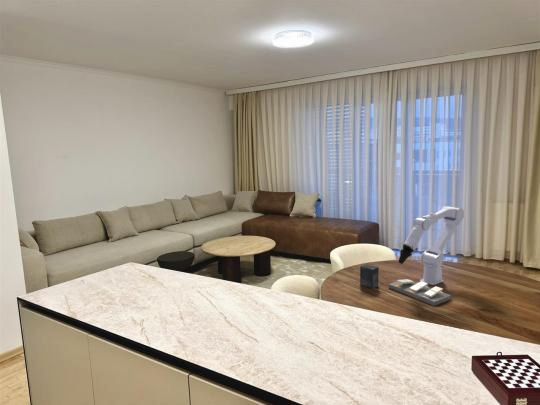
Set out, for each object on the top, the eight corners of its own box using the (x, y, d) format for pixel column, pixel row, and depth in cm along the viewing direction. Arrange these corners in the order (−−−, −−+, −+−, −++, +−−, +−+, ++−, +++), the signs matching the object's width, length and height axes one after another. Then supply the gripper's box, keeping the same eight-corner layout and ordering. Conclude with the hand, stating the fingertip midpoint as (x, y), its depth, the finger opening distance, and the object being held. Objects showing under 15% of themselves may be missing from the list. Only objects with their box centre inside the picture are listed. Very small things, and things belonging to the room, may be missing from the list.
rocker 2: (421, 282, 182) (421, 281, 181) (427, 284, 179) (427, 283, 178) (409, 289, 177) (409, 287, 177) (416, 291, 174) (416, 290, 174)
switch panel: (405, 282, 193) (405, 278, 192) (450, 299, 171) (451, 294, 170) (388, 287, 186) (388, 283, 186) (434, 305, 164) (434, 301, 164)
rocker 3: (435, 287, 175) (435, 286, 175) (442, 290, 172) (442, 288, 172) (424, 294, 171) (424, 293, 170) (431, 297, 168) (431, 295, 167)
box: (378, 286, 188) (379, 266, 187) (372, 289, 185) (372, 269, 183) (365, 282, 194) (366, 263, 193) (359, 284, 191) (359, 265, 189)
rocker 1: (407, 280, 189) (407, 279, 189) (413, 282, 186) (413, 281, 186) (396, 281, 184) (396, 279, 184) (402, 283, 181) (402, 281, 181)
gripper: (404, 238, 190) (392, 260, 187) (407, 231, 177) (394, 254, 174) (417, 245, 187) (405, 267, 185) (421, 238, 174) (408, 261, 172)
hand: (401, 261), depth 179 cm, fingers open, 7 cm apart
